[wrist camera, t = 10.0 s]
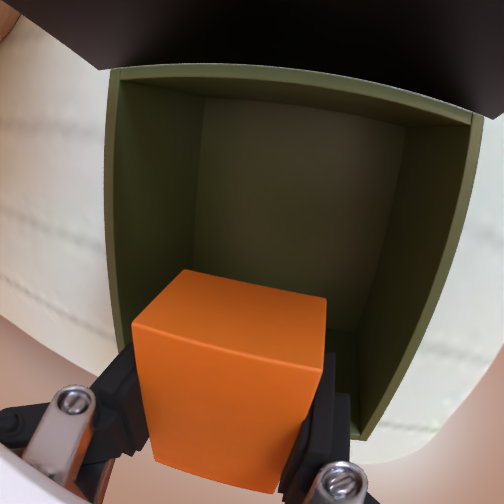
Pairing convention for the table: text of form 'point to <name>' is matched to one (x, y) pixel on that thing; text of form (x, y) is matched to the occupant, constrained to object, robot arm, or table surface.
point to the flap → (299, 39)
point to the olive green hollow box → (291, 202)
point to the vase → (7, 18)
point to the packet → (228, 376)
